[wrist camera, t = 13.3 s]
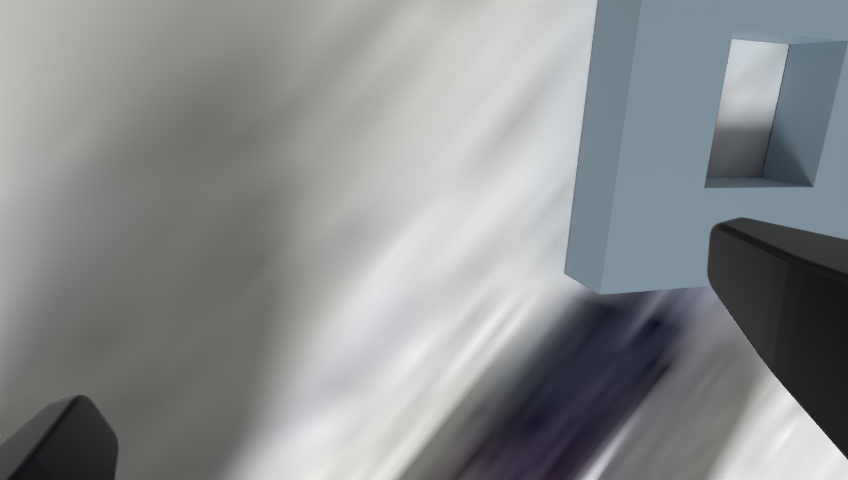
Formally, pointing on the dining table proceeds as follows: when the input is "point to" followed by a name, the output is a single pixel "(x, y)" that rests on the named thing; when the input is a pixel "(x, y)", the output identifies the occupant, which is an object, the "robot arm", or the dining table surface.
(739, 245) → the robot arm
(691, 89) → the slate holder block
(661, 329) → the dining table surface
